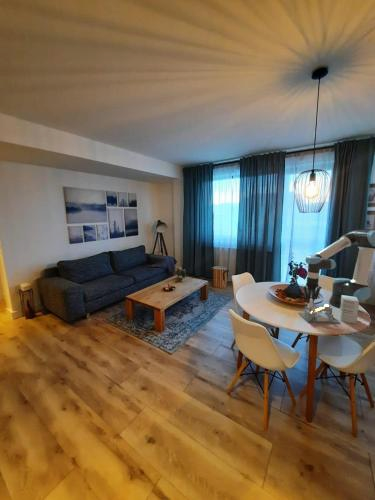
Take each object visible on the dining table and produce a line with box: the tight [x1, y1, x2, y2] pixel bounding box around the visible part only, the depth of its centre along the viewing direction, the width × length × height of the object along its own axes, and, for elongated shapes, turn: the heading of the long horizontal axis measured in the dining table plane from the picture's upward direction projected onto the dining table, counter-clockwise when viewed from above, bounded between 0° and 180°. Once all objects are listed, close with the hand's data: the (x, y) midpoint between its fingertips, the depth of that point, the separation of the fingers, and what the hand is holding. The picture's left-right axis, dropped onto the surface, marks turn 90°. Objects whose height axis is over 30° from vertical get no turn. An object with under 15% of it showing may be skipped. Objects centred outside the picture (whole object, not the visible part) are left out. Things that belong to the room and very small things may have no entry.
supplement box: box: [339, 295, 360, 325], centre depth 150 cm, size 10×9×17 cm
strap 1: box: [306, 306, 326, 312], centre depth 157 cm, size 15×3×1 cm, turn 86°
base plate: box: [297, 306, 341, 324], centre depth 153 cm, size 22×15×7 cm
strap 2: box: [311, 303, 331, 314], centre depth 149 cm, size 15×3×1 cm, turn 86°
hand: (309, 307), depth 157 cm, fingers closed, pressing on strap 1
